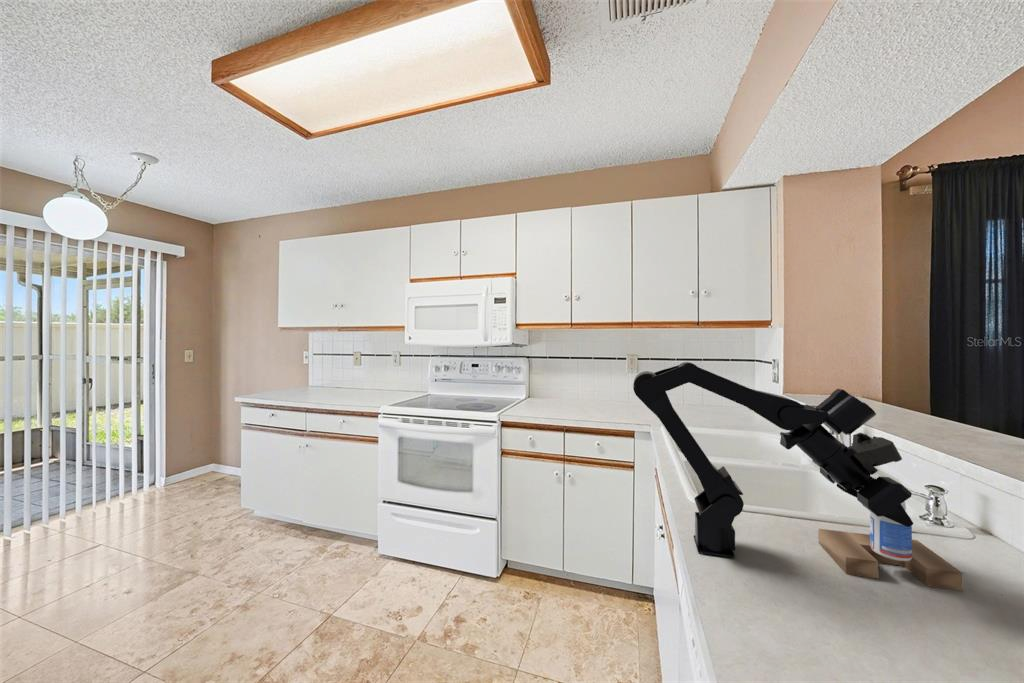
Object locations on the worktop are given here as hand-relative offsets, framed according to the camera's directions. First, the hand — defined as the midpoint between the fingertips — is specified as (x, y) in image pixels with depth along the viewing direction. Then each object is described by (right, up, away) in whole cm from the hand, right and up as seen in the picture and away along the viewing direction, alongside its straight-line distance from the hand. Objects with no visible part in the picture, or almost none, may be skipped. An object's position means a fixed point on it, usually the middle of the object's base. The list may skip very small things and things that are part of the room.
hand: (899, 517), depth 69 cm
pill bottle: (-1, -7, 0) cm, 7 cm away
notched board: (0, -10, +3) cm, 11 cm away
